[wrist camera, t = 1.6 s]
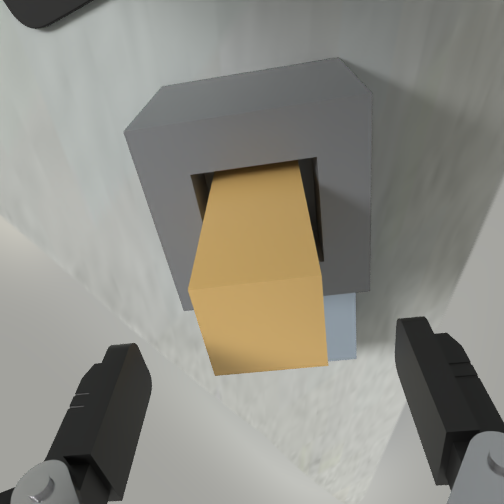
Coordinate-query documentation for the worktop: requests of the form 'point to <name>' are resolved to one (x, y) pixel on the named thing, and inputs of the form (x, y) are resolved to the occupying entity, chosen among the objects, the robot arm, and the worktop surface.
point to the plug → (259, 273)
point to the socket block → (265, 152)
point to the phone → (42, 10)
